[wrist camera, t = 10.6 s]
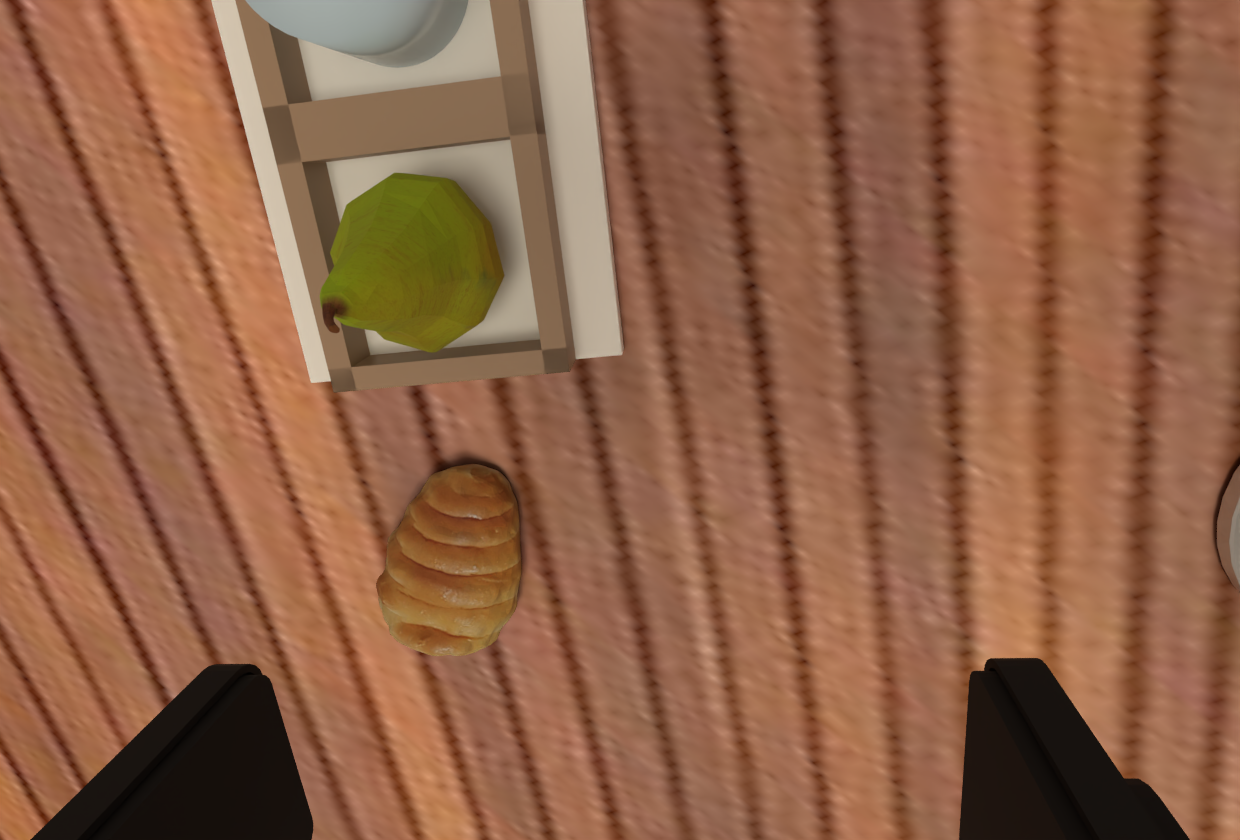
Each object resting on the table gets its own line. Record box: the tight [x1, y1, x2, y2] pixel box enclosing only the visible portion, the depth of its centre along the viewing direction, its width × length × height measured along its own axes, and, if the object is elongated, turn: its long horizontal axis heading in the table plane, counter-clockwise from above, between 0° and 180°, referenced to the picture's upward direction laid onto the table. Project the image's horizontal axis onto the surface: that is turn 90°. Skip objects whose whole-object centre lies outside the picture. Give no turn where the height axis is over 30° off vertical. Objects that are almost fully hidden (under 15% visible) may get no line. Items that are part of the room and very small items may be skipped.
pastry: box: [376, 464, 522, 656], centre depth 34 cm, size 9×7×4 cm
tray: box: [211, 0, 624, 392], centre depth 28 cm, size 14×20×3 cm
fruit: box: [320, 173, 505, 353], centre depth 24 cm, size 6×6×12 cm
